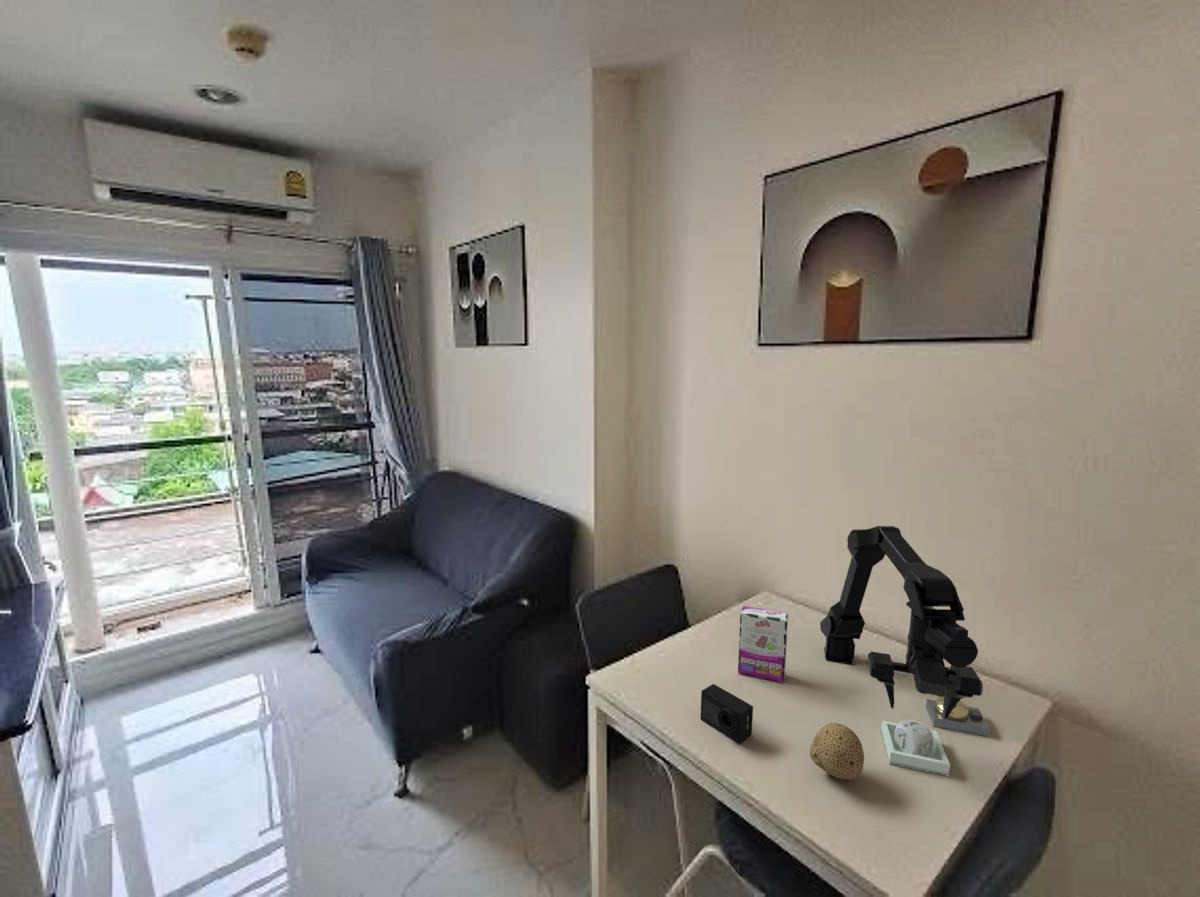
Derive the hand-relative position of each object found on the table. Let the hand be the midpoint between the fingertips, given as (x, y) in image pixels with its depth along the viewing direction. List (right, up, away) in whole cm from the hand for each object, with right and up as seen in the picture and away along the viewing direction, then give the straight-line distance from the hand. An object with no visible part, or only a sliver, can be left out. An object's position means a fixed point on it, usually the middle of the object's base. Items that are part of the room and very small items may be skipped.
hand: (917, 712), depth 106 cm
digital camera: (-36, -8, +8) cm, 38 cm away
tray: (0, -9, +2) cm, 9 cm away
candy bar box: (-22, -5, +29) cm, 37 cm away
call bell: (+15, -8, +11) cm, 20 cm away
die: (0, -9, +2) cm, 9 cm away
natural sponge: (-18, -10, -5) cm, 21 cm away
